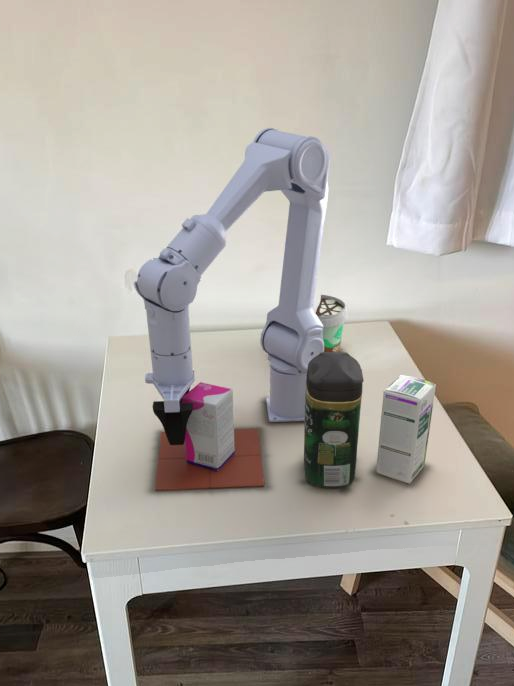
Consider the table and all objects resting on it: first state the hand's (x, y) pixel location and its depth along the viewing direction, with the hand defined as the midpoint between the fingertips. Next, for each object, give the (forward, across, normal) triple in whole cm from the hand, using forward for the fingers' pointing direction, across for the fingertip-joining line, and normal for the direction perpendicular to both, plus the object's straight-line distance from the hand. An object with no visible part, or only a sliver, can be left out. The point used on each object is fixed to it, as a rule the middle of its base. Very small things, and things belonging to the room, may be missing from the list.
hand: (177, 430), depth 105 cm
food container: (+6, -36, +29) cm, 46 cm away
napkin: (+5, 0, +5) cm, 7 cm away
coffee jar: (+6, +5, +23) cm, 24 cm away
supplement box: (+5, 0, +5) cm, 7 cm away
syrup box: (+6, +5, +34) cm, 34 cm away
